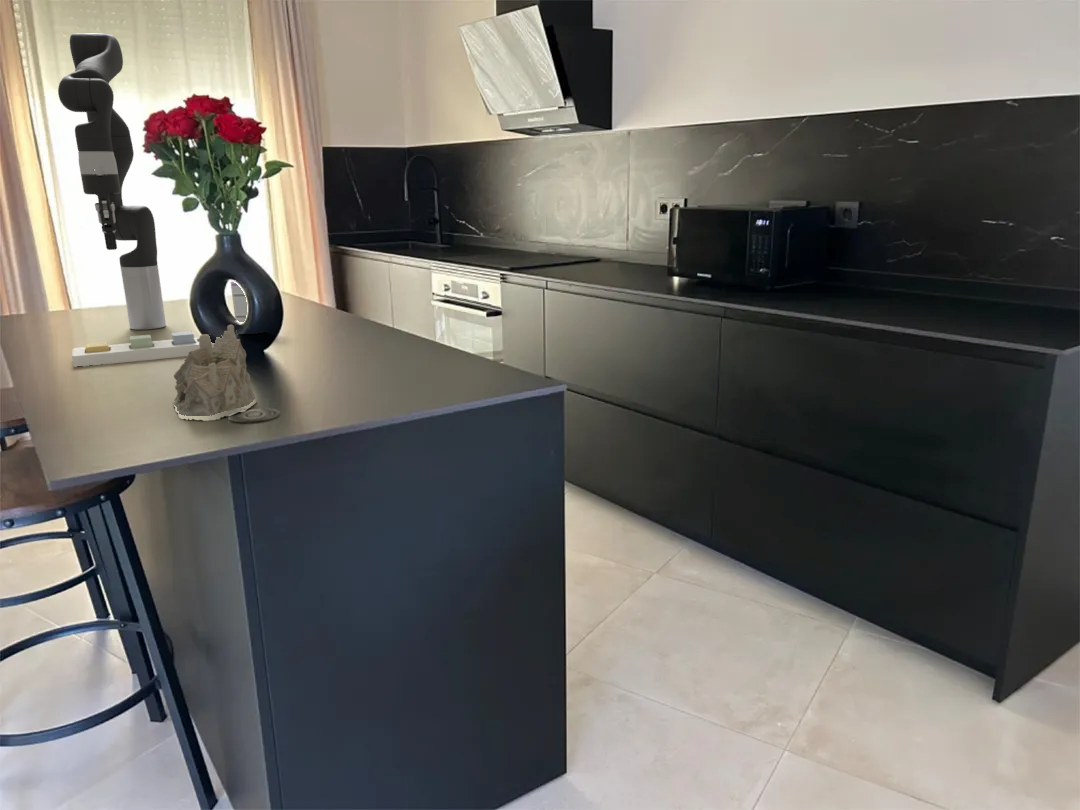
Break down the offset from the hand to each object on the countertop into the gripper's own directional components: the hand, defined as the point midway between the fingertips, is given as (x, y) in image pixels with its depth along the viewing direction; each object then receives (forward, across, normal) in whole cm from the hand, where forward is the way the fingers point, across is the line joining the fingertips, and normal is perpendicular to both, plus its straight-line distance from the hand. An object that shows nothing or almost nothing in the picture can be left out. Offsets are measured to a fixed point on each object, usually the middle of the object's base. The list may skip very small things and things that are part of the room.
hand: (112, 249), depth 181 cm
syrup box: (+25, -8, +30) cm, 40 cm away
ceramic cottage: (+24, +64, +11) cm, 69 cm away
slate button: (+22, +10, +12) cm, 27 cm away
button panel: (+24, +10, +5) cm, 27 cm away
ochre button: (+23, +10, -6) cm, 26 cm away
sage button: (+22, +10, +3) cm, 25 cm away
